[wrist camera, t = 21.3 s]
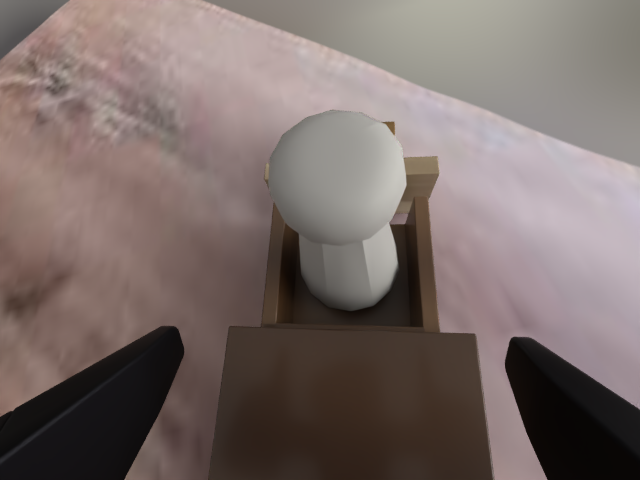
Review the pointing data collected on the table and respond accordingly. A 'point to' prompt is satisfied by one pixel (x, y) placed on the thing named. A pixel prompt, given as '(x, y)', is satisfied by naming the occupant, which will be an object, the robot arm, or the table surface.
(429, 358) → the cabinet
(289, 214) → the white bowling pin
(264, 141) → the table surface
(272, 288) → the drawer
